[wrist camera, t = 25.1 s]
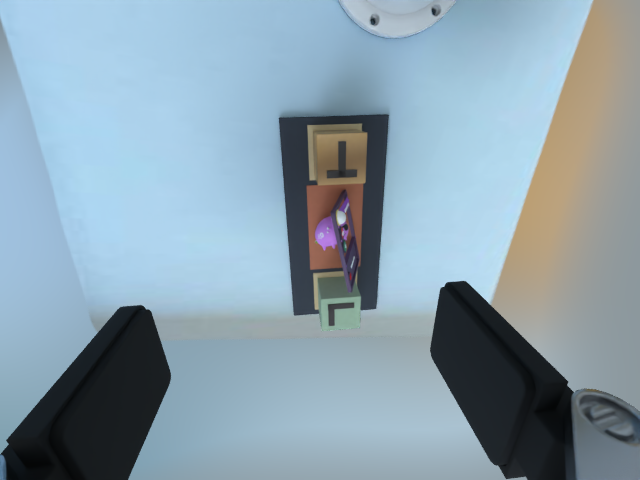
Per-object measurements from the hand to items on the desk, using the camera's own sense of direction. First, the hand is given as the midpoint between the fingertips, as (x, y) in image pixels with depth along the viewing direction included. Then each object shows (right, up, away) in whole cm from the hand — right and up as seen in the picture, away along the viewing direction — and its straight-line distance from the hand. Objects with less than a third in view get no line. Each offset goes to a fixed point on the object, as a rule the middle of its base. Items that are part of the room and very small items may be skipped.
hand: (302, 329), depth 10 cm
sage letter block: (+3, -4, +28) cm, 28 cm away
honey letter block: (+2, +12, +21) cm, 24 cm away
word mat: (+2, +5, +25) cm, 25 cm away
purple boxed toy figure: (+2, +4, +25) cm, 25 cm away
